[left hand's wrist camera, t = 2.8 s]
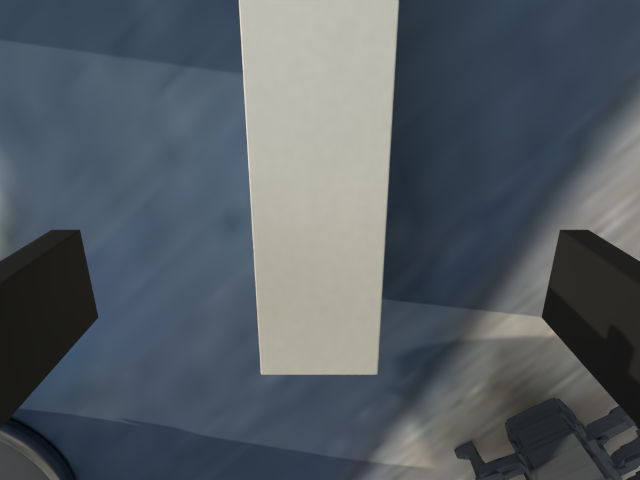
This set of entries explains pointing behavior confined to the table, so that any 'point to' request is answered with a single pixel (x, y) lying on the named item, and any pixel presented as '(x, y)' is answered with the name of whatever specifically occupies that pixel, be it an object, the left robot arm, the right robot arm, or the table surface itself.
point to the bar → (319, 177)
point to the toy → (560, 447)
